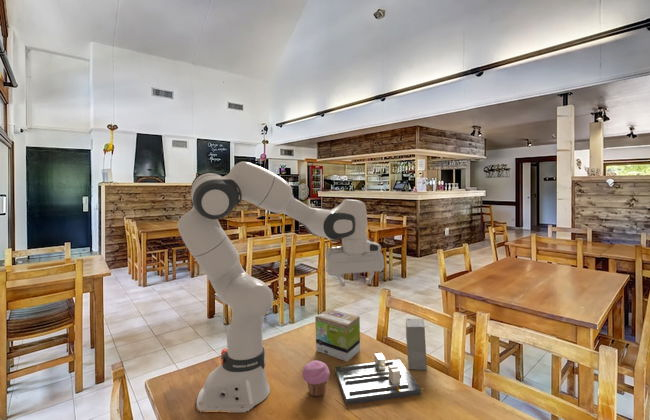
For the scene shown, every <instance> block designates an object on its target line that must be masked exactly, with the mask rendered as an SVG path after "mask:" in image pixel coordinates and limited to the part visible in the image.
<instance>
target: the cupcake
mask: <svg viewBox="0 0 650 420" xmlns="http://www.w3.org/2000/svg"><path fill="white" fill-rule="evenodd" d="M330 375H331V372H330V368H329V367H328V365H327V364H326V363H325V362H323V361H321V360H316V359H315V360H312V361H310V362H307V363H306V364H305V365H304V367H303V370H302V378H303V380H304V381H305V383H307V388H308V391H309V394H310V395H311V396H313V397H315V396H316V397H317V396H323V395H325V394H326V387H327V383H328V381H329V379H330Z"/></svg>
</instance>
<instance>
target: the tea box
mask: <svg viewBox="0 0 650 420" xmlns="http://www.w3.org/2000/svg"><path fill="white" fill-rule="evenodd" d="M314 321H315V349H316V352H320V353H323V354H325V355H328V356H331V357H333V358H336V359H339V360H341V361H344V362H347V363H348V362H349V361H350V360H351V359H353V358H354V356H356V355H357V354H358V353H359V352H360V351H361V332H360V331H361V327H360V326H361V325H360V323H361V322H360V316H358V315H355V314H352V313H347V312H344V311H343V312H342V311H340V310H335V309H331V308H327V309H326V310H325V311H323V312H321V313H320V314H318V315H316V316H315V320H314Z"/></svg>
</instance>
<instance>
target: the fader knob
mask: <svg viewBox="0 0 650 420" xmlns="http://www.w3.org/2000/svg"><path fill="white" fill-rule="evenodd" d="M388 368H389V380H390V381H391V383H392V385H396V384H400V370H399V369H398V367H397V366H396V365H388Z"/></svg>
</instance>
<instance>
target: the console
mask: <svg viewBox="0 0 650 420" xmlns="http://www.w3.org/2000/svg"><path fill="white" fill-rule="evenodd" d="M388 365H396V366H397V367H398V369H399V370H400V384H396V385H392V383H391V381H390V380H389V368H388ZM334 373H335V376H336V378H337V381H338V384H339V387H340V390H341V393H342V396H343V399H344V402H345V404H346V406H348V405H357V404H364V403H372V402H379V401H386V400H392V399H393V400H395V399H399V398H409V397H414V396H422V388H421V386H420V385H419V384H418V383H417V381H416V379H415V378H414V377H413V376H412V374H411V373H410V371H409V370H408V369H407V368H406V366H405V365H404V364H403V362H402V360H401V359H391V360H390V359H389V360H386V358H385V356H384V354H383V353H382V352H378V353H374V362H372V361H371V362H365V363H364V362H363V363H356V364H347V365H338V366H335V367H334Z"/></svg>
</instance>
